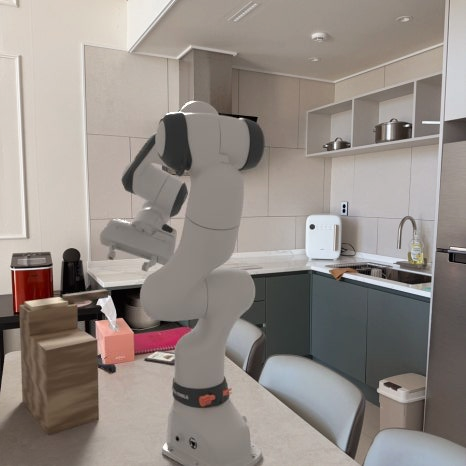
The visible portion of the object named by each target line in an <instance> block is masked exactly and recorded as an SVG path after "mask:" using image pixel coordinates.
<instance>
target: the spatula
mask: <svg viewBox="0 0 466 466" xmlns="http://www.w3.org/2000/svg"><path fill="white" fill-rule="evenodd" d="M106 298H107V299H108V298H109V290H107V289H105V288H104V289H95V290H88V291H82V292H80V291H79V292H73V293H65V294H62V295H61V296H56V297H48V298H42V299H34V300H26V301H24V303H23V305H25V306H26V307H27V308H29V309H30V310H32V311H34V310H41V309H47V308H54V307H61V306H68V303H74V304H75V303H80V302H88V301H94V300H95V301H96V300H99V299H106Z"/></svg>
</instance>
